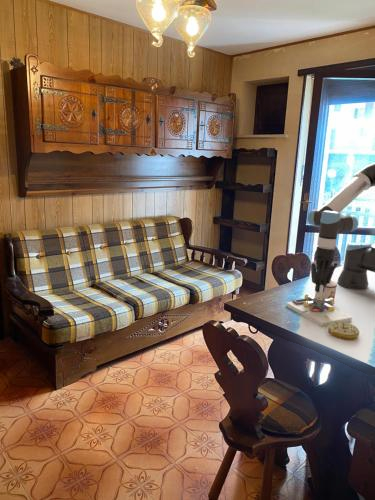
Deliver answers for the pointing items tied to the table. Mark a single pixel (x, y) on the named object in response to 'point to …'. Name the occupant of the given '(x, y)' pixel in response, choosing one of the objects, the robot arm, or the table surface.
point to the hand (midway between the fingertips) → (318, 298)
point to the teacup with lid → (329, 290)
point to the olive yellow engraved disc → (344, 330)
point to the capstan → (318, 304)
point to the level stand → (318, 313)
